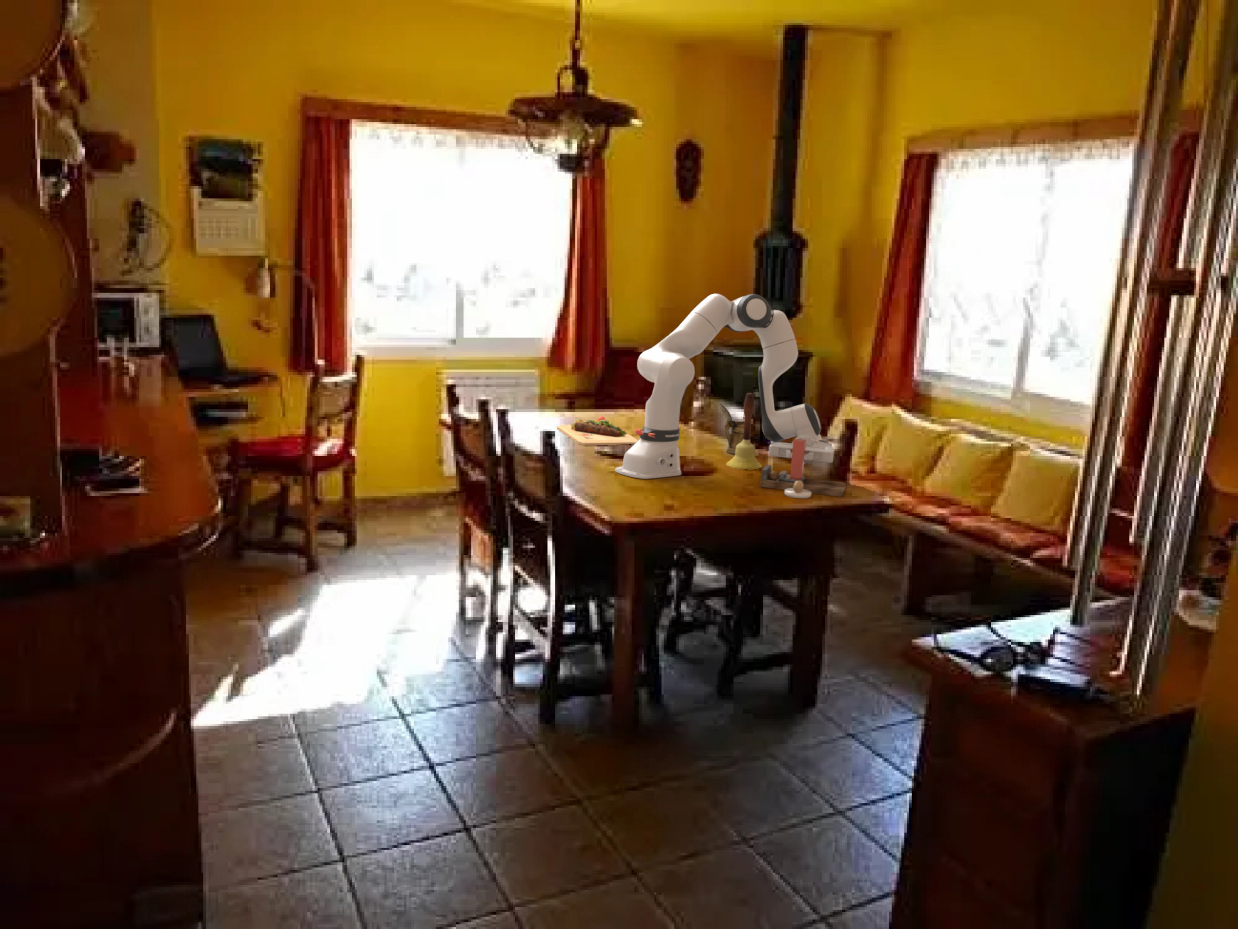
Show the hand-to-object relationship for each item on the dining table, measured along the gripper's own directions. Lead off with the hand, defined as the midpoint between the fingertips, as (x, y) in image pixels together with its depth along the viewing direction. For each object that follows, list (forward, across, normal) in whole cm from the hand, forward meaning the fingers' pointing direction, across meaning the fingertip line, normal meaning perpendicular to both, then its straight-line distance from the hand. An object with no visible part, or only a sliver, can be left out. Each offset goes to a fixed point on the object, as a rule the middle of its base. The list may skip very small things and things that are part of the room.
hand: (797, 456), depth 300 cm
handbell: (-24, -21, +10) cm, 33 cm away
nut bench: (-1, +2, +10) cm, 10 cm away
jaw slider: (-1, -1, +8) cm, 9 cm away
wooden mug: (-44, -29, +10) cm, 53 cm away
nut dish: (+9, +2, +10) cm, 14 cm away
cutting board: (-45, -82, +11) cm, 95 cm away
